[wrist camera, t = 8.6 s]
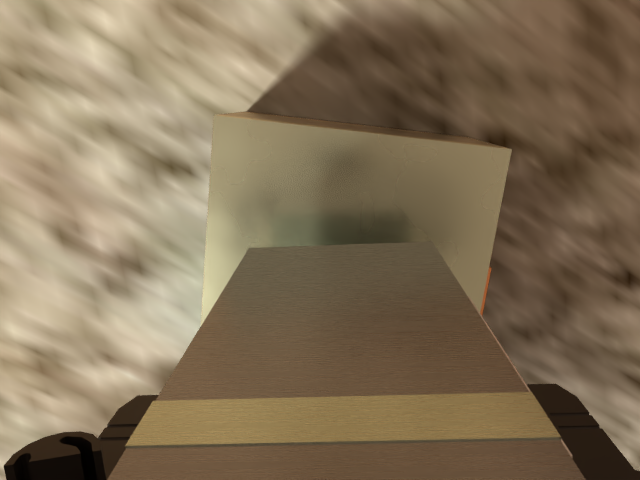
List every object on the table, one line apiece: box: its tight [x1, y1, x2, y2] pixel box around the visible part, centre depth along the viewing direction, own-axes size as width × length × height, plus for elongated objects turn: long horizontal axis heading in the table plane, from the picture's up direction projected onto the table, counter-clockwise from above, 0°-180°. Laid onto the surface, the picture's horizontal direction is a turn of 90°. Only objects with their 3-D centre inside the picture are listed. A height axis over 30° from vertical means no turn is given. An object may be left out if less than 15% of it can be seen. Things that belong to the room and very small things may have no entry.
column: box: [107, 241, 586, 480], centre depth 11 cm, size 5×5×10 cm
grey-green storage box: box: [201, 112, 512, 325], centre depth 21 cm, size 11×9×6 cm
